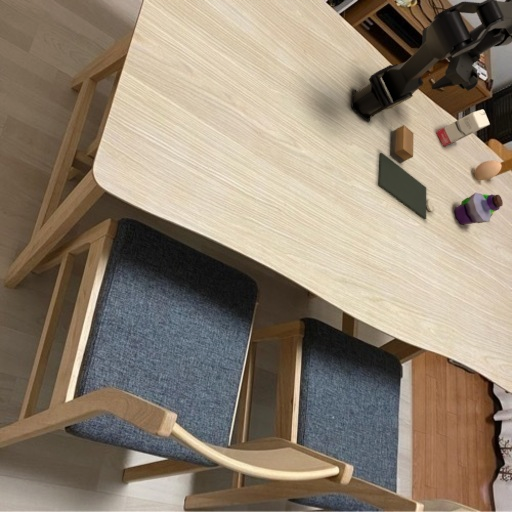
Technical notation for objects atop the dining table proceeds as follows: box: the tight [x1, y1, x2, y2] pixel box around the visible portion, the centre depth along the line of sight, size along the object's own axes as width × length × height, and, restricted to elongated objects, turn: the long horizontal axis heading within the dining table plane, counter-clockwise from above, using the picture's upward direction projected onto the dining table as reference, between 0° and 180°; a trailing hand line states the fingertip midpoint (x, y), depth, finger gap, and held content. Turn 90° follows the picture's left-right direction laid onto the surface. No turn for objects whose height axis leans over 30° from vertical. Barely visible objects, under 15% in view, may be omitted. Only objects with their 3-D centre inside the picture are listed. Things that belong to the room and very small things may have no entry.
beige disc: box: [426, 199, 434, 212], centre depth 148 cm, size 3×3×1 cm
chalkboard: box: [377, 152, 427, 220], centre depth 143 cm, size 18×10×1 cm, turn 79°
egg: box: [473, 160, 501, 181], centre depth 170 cm, size 5×5×8 cm
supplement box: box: [493, 157, 512, 178], centre depth 174 cm, size 3×3×10 cm
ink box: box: [436, 109, 491, 147], centre depth 164 cm, size 8×5×12 cm, turn 123°
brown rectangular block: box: [390, 124, 415, 164], centre depth 146 cm, size 4×8×4 cm, turn 169°
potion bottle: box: [453, 192, 504, 226], centre depth 154 cm, size 9×9×12 cm
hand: (420, 77), depth 142 cm, fingers open, 9 cm apart
